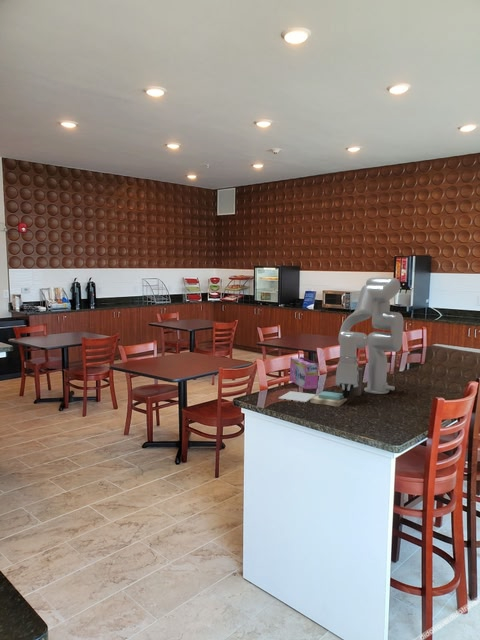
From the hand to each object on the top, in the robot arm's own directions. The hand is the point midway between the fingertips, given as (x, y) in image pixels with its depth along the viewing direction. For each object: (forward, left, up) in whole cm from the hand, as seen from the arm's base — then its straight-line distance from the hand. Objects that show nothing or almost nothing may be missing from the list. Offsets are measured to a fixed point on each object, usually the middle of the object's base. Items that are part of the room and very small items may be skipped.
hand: (346, 397), depth 230 cm
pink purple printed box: (+32, -29, -3) cm, 43 cm away
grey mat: (+24, 0, -3) cm, 25 cm away
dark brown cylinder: (+2, -20, -3) cm, 20 cm away
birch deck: (+8, 0, -3) cm, 9 cm away
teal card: (+7, 0, -1) cm, 8 cm away
